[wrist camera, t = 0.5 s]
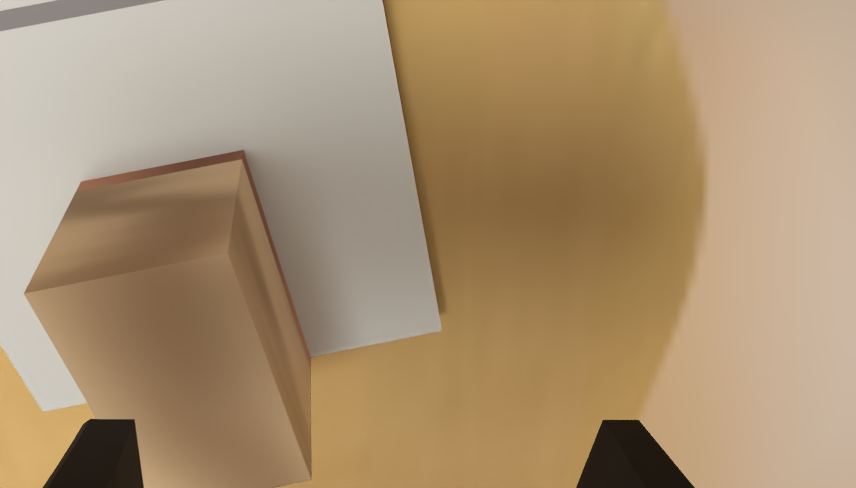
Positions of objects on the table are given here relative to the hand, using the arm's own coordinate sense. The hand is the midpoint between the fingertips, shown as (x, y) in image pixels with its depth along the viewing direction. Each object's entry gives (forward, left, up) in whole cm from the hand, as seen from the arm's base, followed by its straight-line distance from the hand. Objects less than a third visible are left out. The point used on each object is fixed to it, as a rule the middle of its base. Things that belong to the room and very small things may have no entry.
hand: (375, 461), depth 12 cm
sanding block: (-4, -2, -9) cm, 10 cm away
